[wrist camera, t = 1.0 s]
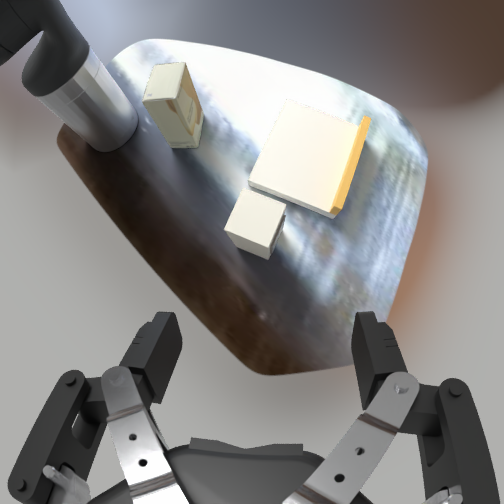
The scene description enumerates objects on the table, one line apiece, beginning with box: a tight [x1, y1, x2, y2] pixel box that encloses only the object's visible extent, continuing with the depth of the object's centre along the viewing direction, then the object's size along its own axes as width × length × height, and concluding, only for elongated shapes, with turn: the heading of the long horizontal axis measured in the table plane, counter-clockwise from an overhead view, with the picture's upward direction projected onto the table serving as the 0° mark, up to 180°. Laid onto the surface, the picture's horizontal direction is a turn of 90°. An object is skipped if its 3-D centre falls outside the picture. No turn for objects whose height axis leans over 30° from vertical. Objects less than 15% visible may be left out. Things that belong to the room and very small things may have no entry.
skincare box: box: [142, 62, 204, 148], centre depth 35 cm, size 6×4×12 cm
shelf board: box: [248, 99, 371, 219], centre depth 37 cm, size 12×14×5 cm
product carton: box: [224, 188, 286, 260], centre depth 33 cm, size 5×4×11 cm
